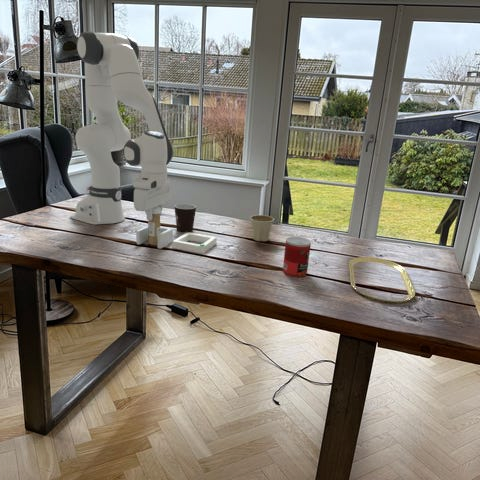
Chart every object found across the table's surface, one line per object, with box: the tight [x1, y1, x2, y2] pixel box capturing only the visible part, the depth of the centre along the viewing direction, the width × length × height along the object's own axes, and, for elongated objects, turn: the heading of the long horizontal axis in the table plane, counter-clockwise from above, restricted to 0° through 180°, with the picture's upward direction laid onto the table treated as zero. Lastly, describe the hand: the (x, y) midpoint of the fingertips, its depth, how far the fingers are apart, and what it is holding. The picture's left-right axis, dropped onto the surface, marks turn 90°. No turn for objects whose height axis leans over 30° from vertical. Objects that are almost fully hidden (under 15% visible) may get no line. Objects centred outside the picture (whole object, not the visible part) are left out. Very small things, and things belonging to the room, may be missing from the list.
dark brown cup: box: [173, 203, 197, 234], centre depth 171 cm, size 12×9×10 cm
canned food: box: [282, 236, 312, 278], centre depth 135 cm, size 8×8×11 cm
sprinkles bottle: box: [147, 206, 162, 246], centre depth 153 cm, size 5×5×14 cm
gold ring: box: [348, 256, 416, 304], centre depth 136 cm, size 19×35×2 cm, turn 168°
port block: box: [171, 232, 218, 254], centre depth 154 cm, size 12×12×3 cm
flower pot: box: [249, 214, 275, 242], centre depth 166 cm, size 9×9×9 cm
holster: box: [135, 225, 174, 249], centre depth 154 cm, size 10×9×5 cm
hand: (154, 217), depth 152 cm, fingers closed on sprinkles bottle, 4 cm apart
